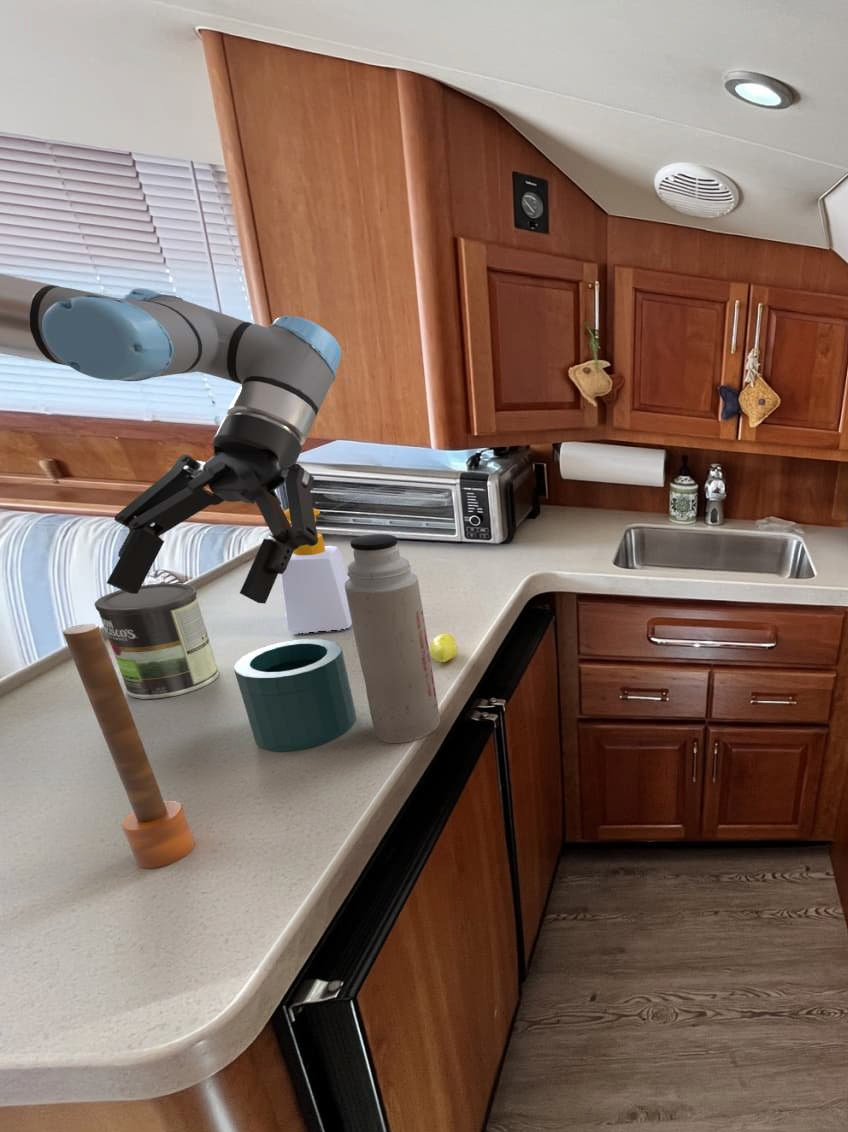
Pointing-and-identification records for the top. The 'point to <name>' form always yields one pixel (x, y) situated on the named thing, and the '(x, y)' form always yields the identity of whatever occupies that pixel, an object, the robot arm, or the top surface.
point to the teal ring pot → (296, 694)
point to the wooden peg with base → (129, 756)
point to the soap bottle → (315, 588)
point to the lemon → (443, 647)
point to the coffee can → (159, 640)
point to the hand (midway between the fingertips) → (187, 594)
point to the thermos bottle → (391, 640)
